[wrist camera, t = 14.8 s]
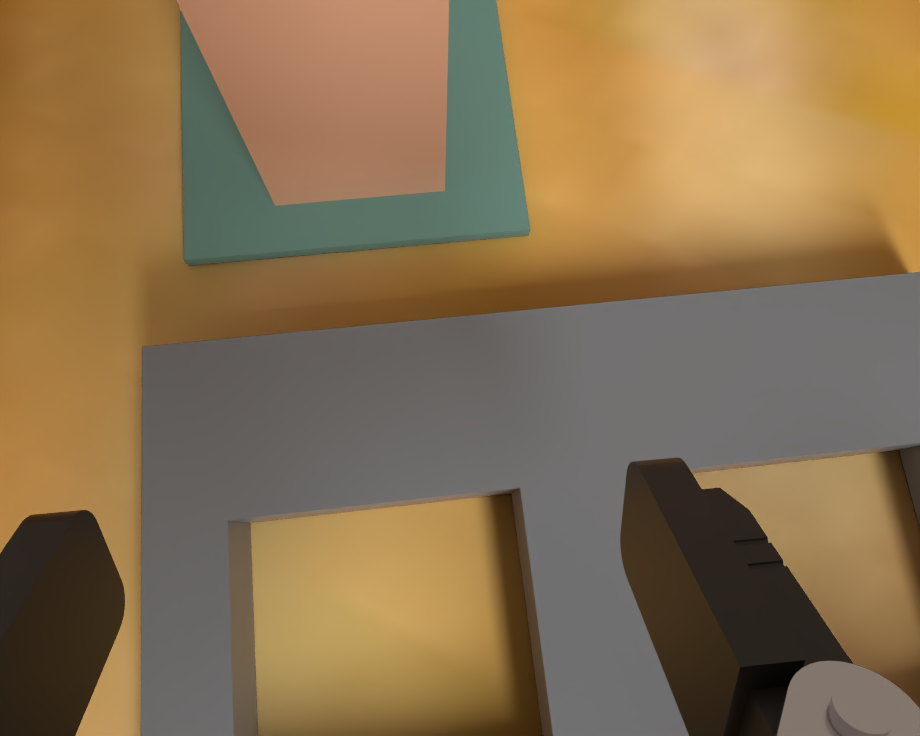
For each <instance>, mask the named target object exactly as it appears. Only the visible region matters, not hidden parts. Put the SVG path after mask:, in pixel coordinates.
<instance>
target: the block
mask: <svg viewBox="0 0 920 736" xmlns="http://www.w3.org/2000/svg"><path fill="white" fill-rule="evenodd" d="M176 1H177V3H178V5H179V7H180V9H181V11H182V13H183V15H184V17H185V20H186V22H187V24H188V26H189V28H190V30H191V32H192V34H193V36H194V38H195V40H196V42H197V44H198V47H199V49H200V51H201V53H202V55H203V57H204V59H205V61H206V63H207V65H208V67H209V69H210V72H211V74H212V76H213V78H214V80H215V82H216V84H217V86H218V88H219V90H220V92H221V94H222V96H223V99H224V101H225V103H226V105H227V107H228V109H229V111H230V113H231V115H232V117H233V119H234V121H235V124H236V126H237V128H238V130H239V132H240V134H241V136H242V138H243V140H244V142H245V144H246V146H247V148H248V151H249V153H250V155H251V157H252V159H253V161H254V163H255V165H256V167H257V169H258V171H259V173H260V176H261V178H262V180H263V182H264V184H265V186H266V188H267V190H268V192H269V194H270V196H271V198H272V200H273V203H274V205H275V206H278V205H289V204H301V203H312V202H324V201H335V200H347V199H358V198H370V197H381V196H393V195H405V194H416V193H428V192H439V191H445V166H446V122H447V77H448V33H449V0H176Z"/></svg>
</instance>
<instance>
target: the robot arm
mask: <svg viewBox="0 0 920 736" xmlns="http://www.w3.org/2000/svg"><path fill="white" fill-rule="evenodd" d="M620 547H621V556H622V562H623V566H624V570H625V574H626V577H627V579H628V582H629V584H630V587H631V590H632V592H633V595H634V597H635V600H636V602H637V605H638V607H639V610H640V612H641V615H642V617H643V620H644V623H645V625H646V628H647V630H648V633H649V635H650V638H651V640H652V643H653V645H654V648H655V650H656V653H657V655H658V658H659V661H660V663H661V666H662V668H663V671H664V673H665V676H666V678H667V681H668V683H669V686H670V688H671V691H672V694H673V696H674V699H675V701H676V704H677V706H678V709H679V711H680V714H681V716H682V719H683V721H684V724H685V727H686V729H687V732H688V734H689V736H920V708H919V707H918V706H917V705H916V704H915V703H914V701H913V700H912V699H911V698H910V697H909V696H908V695H907V694H906V693H904V692H903V691H902V690H901V689H900V688H899V687H897V686H896V685H895V684H893V683H892V682H891V681H889V680H888V679H886V678H884V677H882V676H881V675H879V674H877V673H875V672H873V671H871V670H869V669H866V668H864V667H861V666H858V665H855V664H853V662H852V661H851V660H850V658H849V657H848V656H847V655H846V653H845V652H844V650H843V649H842V647H841V646H840V644H839V643H838V641H837V640H836V638H835V637H834V635H833V634H832V632H831V631H830V629H829V628H828V626H827V625H826V623H825V622H824V620H823V619H822V618H821V616H820V615H819V613H818V612H817V610H816V609H815V607H814V606H813V604H812V603H811V601H810V600H809V598H808V597H807V595H806V594H805V592H804V591H803V589H802V588H801V586H800V585H799V583H798V582H797V580H796V579H795V577H794V576H793V575H792V573H791V572H790V570H789V569H788V567H787V566H785V567H784V565H783V560H782V558H781V557H780V555H779V554H778V552H777V551H776V549H775V548H774V546H773V545H772V543H768V540H767V536H766V534H765V533H764V531H763V530H762V529H761V527H760V526H759V524H758V523H757V521H756V520H755V518H754V517H753V515H752V514H751V512H750V511H749V510H748V509H747V508H746V507H744V506H743V505H742V504H740V503H739V502H738V501H736V500H735V499H734V498H732V497H731V496H730V495H729V494H727V493H726V492H725V491H723V490H722V489H721V488H713V489H701V487H700V486H699V484H698V483H697V481H696V479H695V478H694V476H693V474H692V473H691V471H690V469H689V468H688V466H687V464H686V463H685V462H684V461H683V460H682V459H681V458H678V457H677V458H666V459H655V460H644V461H633V462H630V464H629V465H628V468H627V473H626V483H625V493H624V503H623V513H622V523H621V533H620ZM124 608H125V594H124V587H123V583H122V581H121V578H120V576H119V573H118V571H117V568H116V566H115V564H114V561H113V559H112V556H111V554H110V552H109V549H108V547H107V544H106V542H105V539H104V537H103V535H102V532H101V530H100V527H99V525H98V523H97V520H96V518H95V517H94V515H93V514H92V513H91V512H89V511H87V510H80V511H69V512H58V513H47V514H36V515H30V516H29V517H27V518H26V519H24V520H23V522H22V523H21V524H20V526H19V527H18V528H17V530H16V531H15V533H14V534H13V536H12V537H11V539H10V540H9V542H8V543H7V545H6V546H5V548H4V549H3V551H2V552H1V554H0V736H75V735H76V732H77V730H78V727H79V725H80V723H81V720H82V718H83V715H84V713H85V711H86V708H87V706H88V703H89V701H90V699H91V696H92V694H93V691H94V689H95V687H96V684H97V682H98V679H99V677H100V675H101V672H102V670H103V667H104V665H105V663H106V660H107V658H108V656H109V653H110V651H111V648H112V646H113V644H114V641H115V639H116V636H117V634H118V632H119V629H120V626H121V624H122V620H123V615H124Z"/></svg>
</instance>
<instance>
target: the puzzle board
mask: <svg viewBox="0 0 920 736" xmlns="http://www.w3.org/2000/svg"><path fill="white" fill-rule="evenodd" d="M894 450H899V452H900V456H901V460H902V464H903V467H904V471H905V475H906V478H907V482H908V486H909V489H910V493H911V497H912V500H913V504H914V508H915V511H916V515H917V519H918V523H919V526H920V272H915V273H904V274H894V275H884V276H873V277H863V278H852V279H842V280H831V281H821V282H811V283H800V284H790V285H779V286H769V287H759V288H748V289H738V290H727V291H717V292H707V293H696V294H686V295H675V296H665V297H654V298H644V299H634V300H623V301H613V302H602V303H592V304H582V305H571V306H561V307H550V308H540V309H530V310H519V311H509V312H498V313H488V314H477V315H467V316H457V317H446V318H436V319H425V320H415V321H405V322H394V323H384V324H373V325H363V326H353V327H342V328H332V329H321V330H311V331H300V332H290V333H280V334H269V335H259V336H248V337H238V338H228V339H217V340H207V341H196V342H186V343H175V344H165V345H155V346H144V347H142V509H141V736H258V727H257V698H256V670H255V642H254V613H253V585H252V557H251V528H250V523H252V522H261V521H270V520H278V519H287V518H296V517H305V516H314V515H323V514H332V513H341V512H350V511H359V510H368V509H377V508H386V507H394V506H403V505H412V504H421V503H430V502H439V501H448V500H457V499H466V498H475V497H484V496H493V495H501V494H510V493H511V494H512V502H513V509H514V517H515V525H516V533H517V540H518V548H519V556H520V564H521V572H522V579H523V587H524V595H525V603H526V610H527V618H528V626H529V634H530V641H531V649H532V657H533V665H534V672H535V680H536V688H537V696H538V703H539V711H540V719H541V727H542V734H543V736H689V734H688V732H687V729H686V727H685V724H684V721H683V719H682V716H681V714H680V711H679V709H678V706H677V704H676V701H675V699H674V696H673V694H672V691H671V688H670V686H669V683H668V681H667V678H666V676H665V673H664V671H663V668H662V666H661V663H660V661H659V658H658V655H657V653H656V650H655V648H654V645H653V643H652V640H651V638H650V635H649V633H648V630H647V628H646V625H645V623H644V620H643V617H642V615H641V612H640V610H639V607H638V605H637V602H636V600H635V597H634V595H633V592H632V590H631V587H630V584H629V582H628V579H627V577H626V574H625V570H624V566H623V562H622V556H621V547H620V533H621V523H622V513H623V503H624V493H625V483H626V473H627V468H628V465H629V464H630V462H633V461H644V460H655V459H666V458H677V457H678V458H681V459H682V460H683V461H684V462H685V463H686V464H687V466H688V468H689V469H690V471H691V473H698V472H707V471H716V470H724V469H733V468H742V467H751V466H760V465H769V464H778V463H787V462H796V461H805V460H814V459H823V458H831V457H840V456H849V455H858V454H867V453H876V452H885V451H894Z"/></svg>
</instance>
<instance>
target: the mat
mask: <svg viewBox="0 0 920 736" xmlns="http://www.w3.org/2000/svg"><path fill="white" fill-rule="evenodd" d="M181 81H182V158H183V234H184V261H185V262H186V263H187V264H188V265H189V266H190V265H202V264H213V263H224V262H235V261H246V260H258V259H269V258H280V257H291V256H302V255H313V254H325V253H336V252H347V251H358V250H369V249H380V248H392V247H403V246H414V245H425V244H436V243H448V242H459V241H470V240H481V239H492V238H503V237H515V236H526V235H529V232H530V225H529V218H528V211H527V205H526V198H525V191H524V185H523V178H522V171H521V165H520V158H519V151H518V145H517V138H516V131H515V125H514V118H513V111H512V105H511V98H510V91H509V84H508V78H507V71H506V64H505V58H504V51H503V44H502V38H501V31H500V24H499V18H498V11H497V4H496V0H449V33H448V77H447V122H446V166H445V191H439V192H428V193H416V194H405V195H393V196H381V197H370V198H358V199H347V200H335V201H324V202H312V203H301V204H289V205H278V206H275V205H274V203H273V200H272V198H271V196H270V194H269V192H268V190H267V188H266V186H265V184H264V182H263V180H262V178H261V176H260V173H259V171H258V169H257V167H256V165H255V163H254V161H253V159H252V157H251V155H250V153H249V151H248V148H247V146H246V144H245V142H244V140H243V138H242V136H241V134H240V132H239V130H238V128H237V126H236V124H235V121H234V119H233V117H232V115H231V113H230V111H229V109H228V107H227V105H226V103H225V101H224V99H223V96H222V94H221V92H220V90H219V88H218V86H217V84H216V82H215V80H214V78H213V76H212V74H211V72H210V69H209V67H208V65H207V63H206V61H205V59H204V57H203V55H202V53H201V51H200V49H199V47H198V44H197V42H196V40H195V38H194V36H193V34H192V32H191V30H190V28H189V26H188V24H187V22H186V20H185V17H184V15H183V13H182V11H181Z"/></svg>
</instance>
